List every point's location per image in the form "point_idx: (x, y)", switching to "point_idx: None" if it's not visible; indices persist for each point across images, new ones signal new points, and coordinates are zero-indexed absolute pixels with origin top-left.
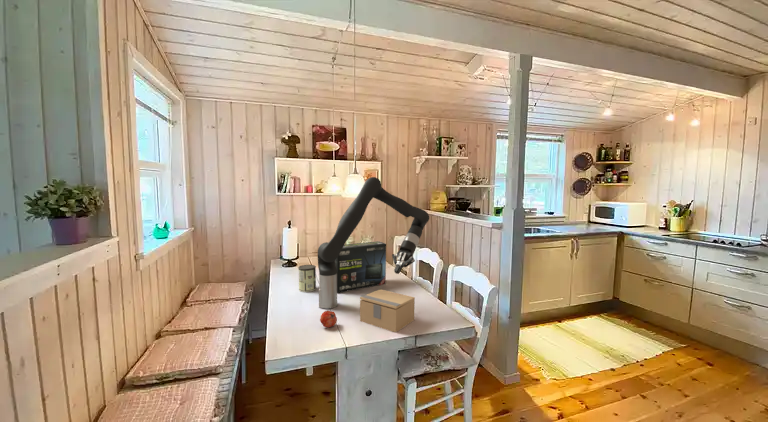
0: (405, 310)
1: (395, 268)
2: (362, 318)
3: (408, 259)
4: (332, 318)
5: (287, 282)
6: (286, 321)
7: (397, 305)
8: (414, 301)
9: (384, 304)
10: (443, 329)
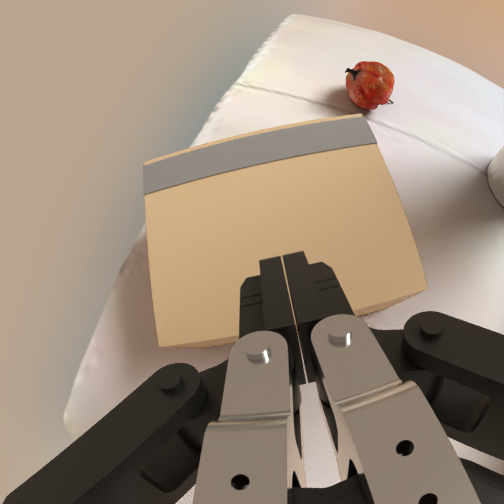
0: None
1: (326, 284)
2: None
3: (82, 490)
4: (350, 77)
5: None
6: (440, 69)
7: (144, 171)
8: (169, 346)
9: (209, 145)
10: (90, 351)
